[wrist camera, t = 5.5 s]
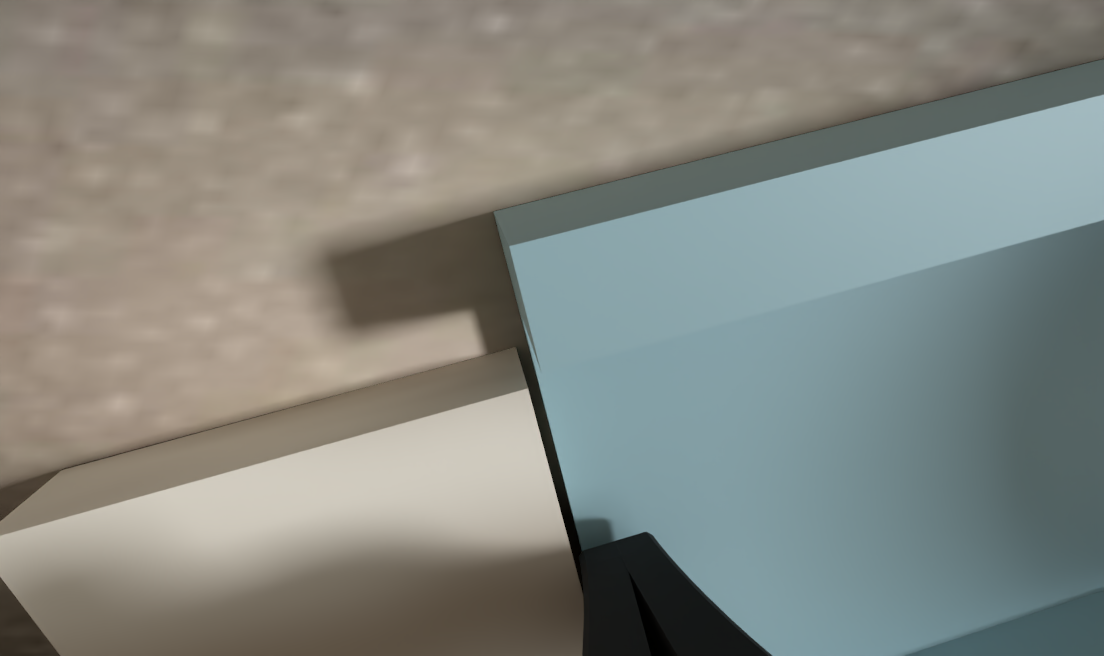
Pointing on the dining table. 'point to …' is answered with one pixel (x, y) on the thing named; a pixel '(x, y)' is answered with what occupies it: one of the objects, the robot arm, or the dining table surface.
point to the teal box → (847, 373)
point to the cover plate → (314, 533)
